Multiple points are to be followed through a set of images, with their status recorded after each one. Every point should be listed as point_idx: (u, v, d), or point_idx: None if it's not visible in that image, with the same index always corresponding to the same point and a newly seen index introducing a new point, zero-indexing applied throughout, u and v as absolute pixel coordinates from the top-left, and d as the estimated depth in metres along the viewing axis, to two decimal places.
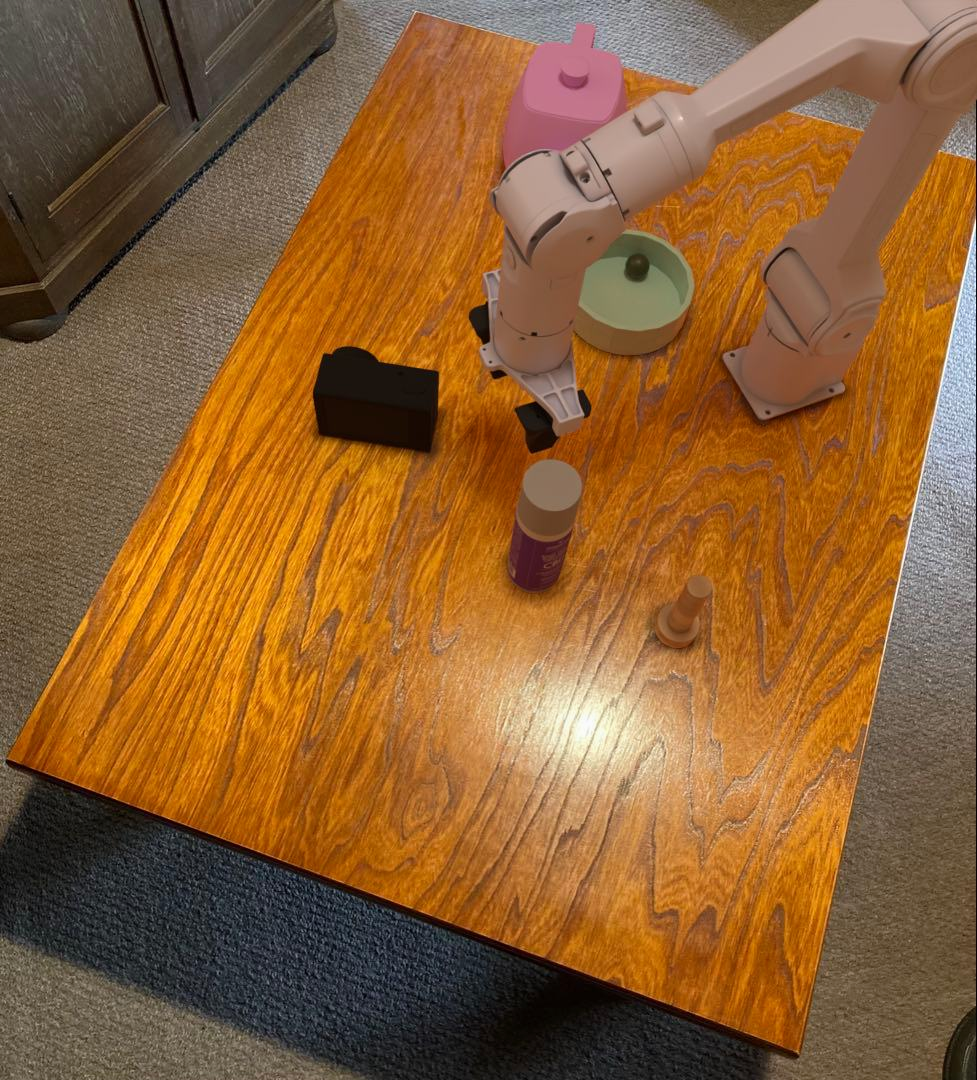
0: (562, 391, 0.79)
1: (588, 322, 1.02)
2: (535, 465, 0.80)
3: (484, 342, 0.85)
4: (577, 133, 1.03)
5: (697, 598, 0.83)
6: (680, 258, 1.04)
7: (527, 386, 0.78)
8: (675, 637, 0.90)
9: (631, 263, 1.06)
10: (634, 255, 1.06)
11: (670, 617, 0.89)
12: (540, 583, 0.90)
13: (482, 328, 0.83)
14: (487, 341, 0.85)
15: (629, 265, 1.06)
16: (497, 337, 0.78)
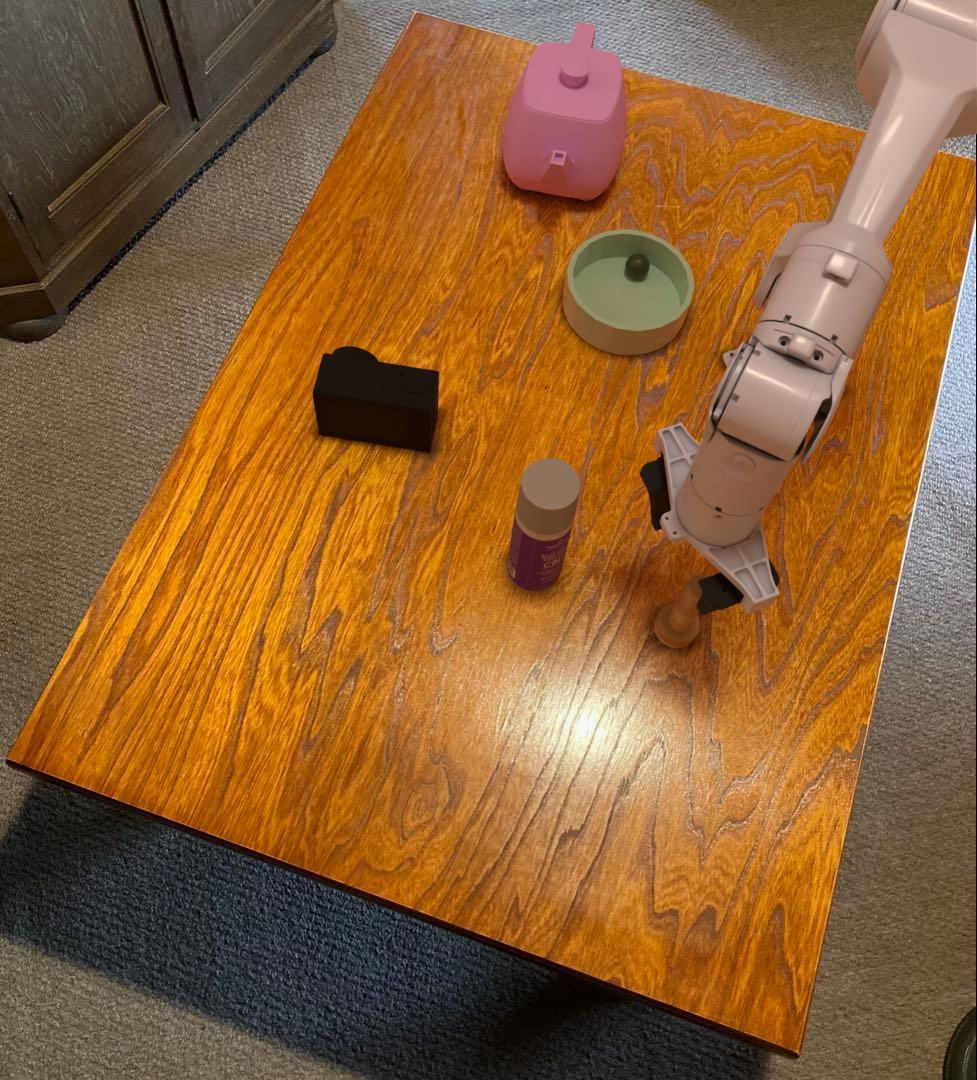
0: (753, 566, 0.73)
1: (588, 322, 1.02)
2: (533, 464, 0.81)
3: (656, 500, 0.79)
4: (577, 133, 1.03)
5: (697, 598, 0.83)
6: (680, 258, 1.04)
7: (716, 561, 0.73)
8: (675, 637, 0.90)
9: (631, 263, 1.06)
10: (634, 255, 1.06)
11: (670, 617, 0.89)
12: (540, 583, 0.90)
13: (657, 488, 0.78)
14: (658, 499, 0.79)
15: (629, 265, 1.06)
16: (685, 509, 0.73)
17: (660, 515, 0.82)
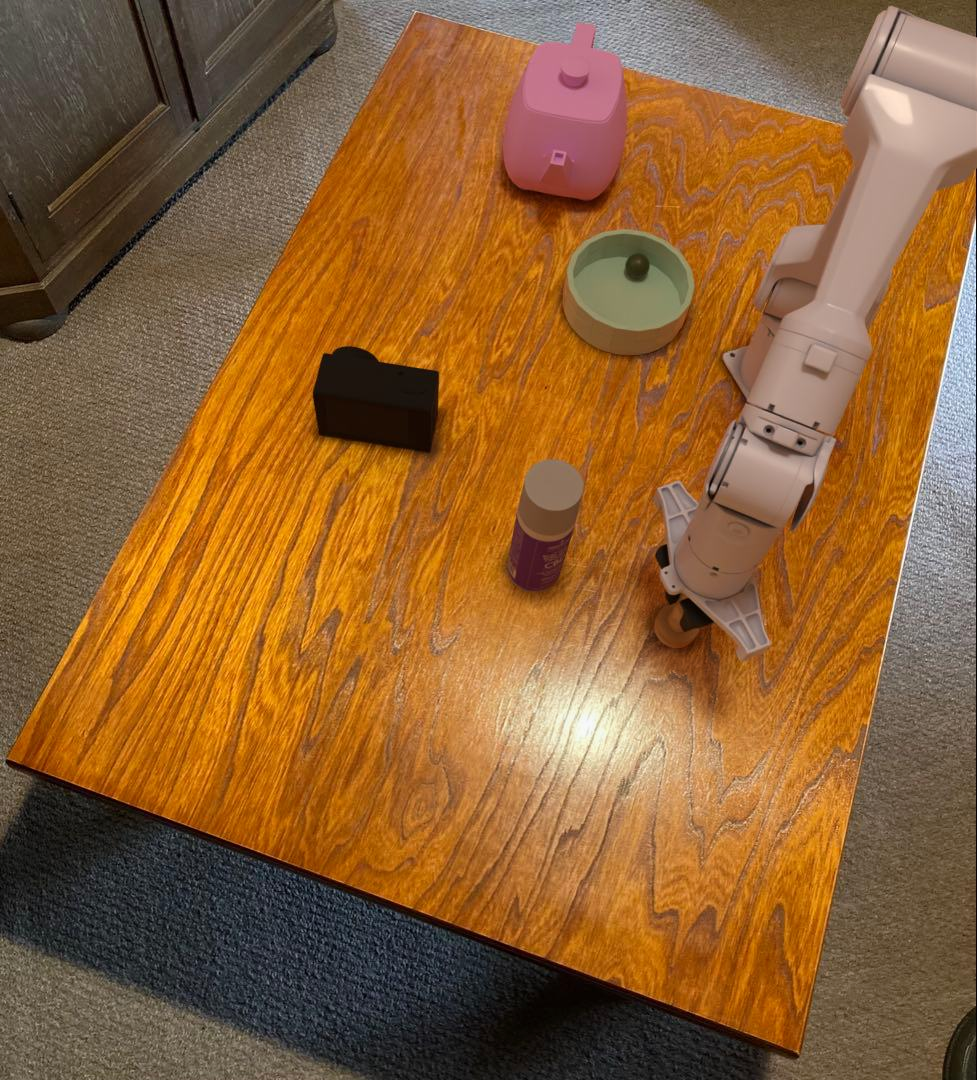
0: (747, 617, 0.78)
1: (588, 322, 1.02)
2: (536, 465, 0.80)
3: None
4: (577, 133, 1.03)
5: None
6: (680, 258, 1.04)
7: (712, 613, 0.78)
8: (675, 638, 0.90)
9: (631, 263, 1.06)
10: (634, 255, 1.06)
11: (670, 617, 0.89)
12: (540, 583, 0.90)
13: None
14: None
15: (629, 265, 1.06)
16: (682, 565, 0.78)
17: None
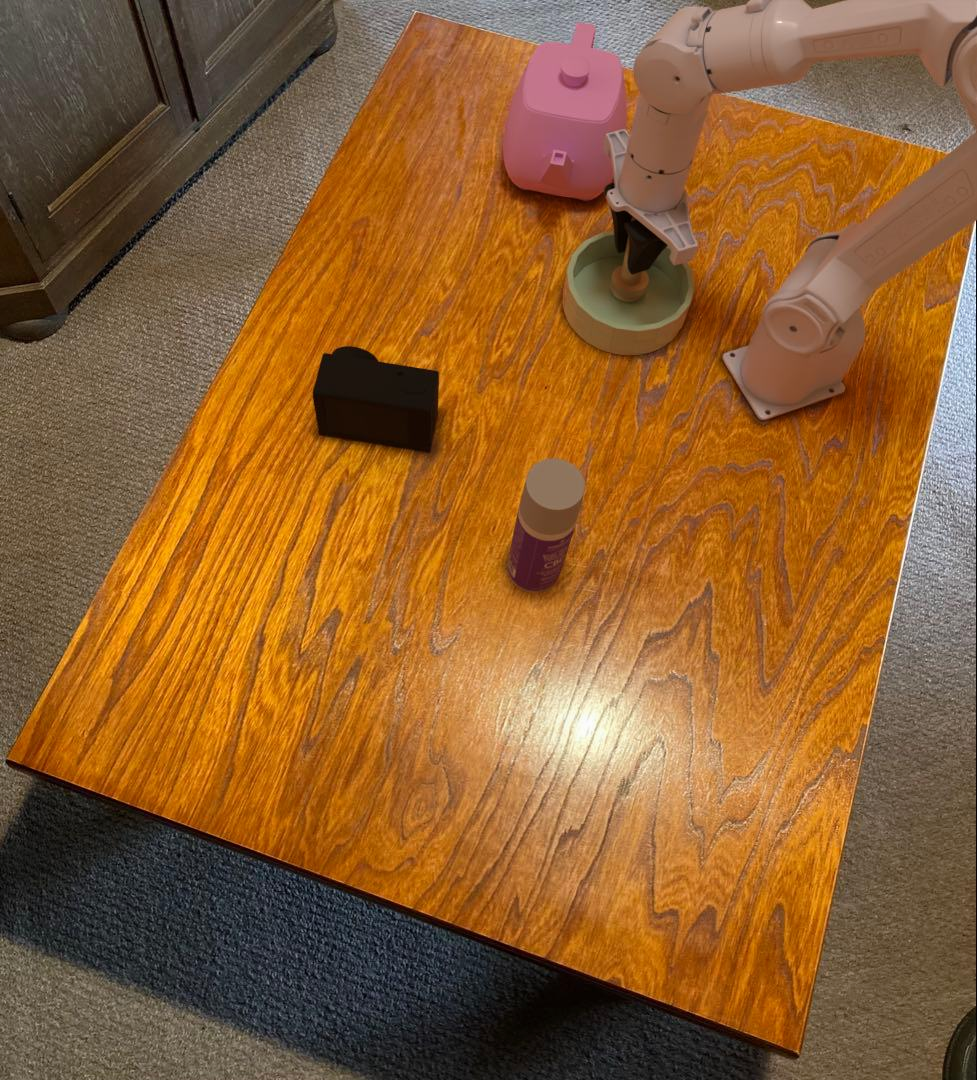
0: (679, 227, 0.93)
1: (588, 322, 1.02)
2: (538, 464, 0.80)
3: (617, 214, 0.98)
4: (577, 133, 1.03)
5: None
6: None
7: (649, 222, 0.93)
8: (624, 287, 1.04)
9: None
10: None
11: (622, 267, 1.04)
12: (540, 583, 0.90)
13: None
14: (619, 213, 0.98)
15: None
16: (624, 180, 0.93)
17: (621, 234, 1.01)
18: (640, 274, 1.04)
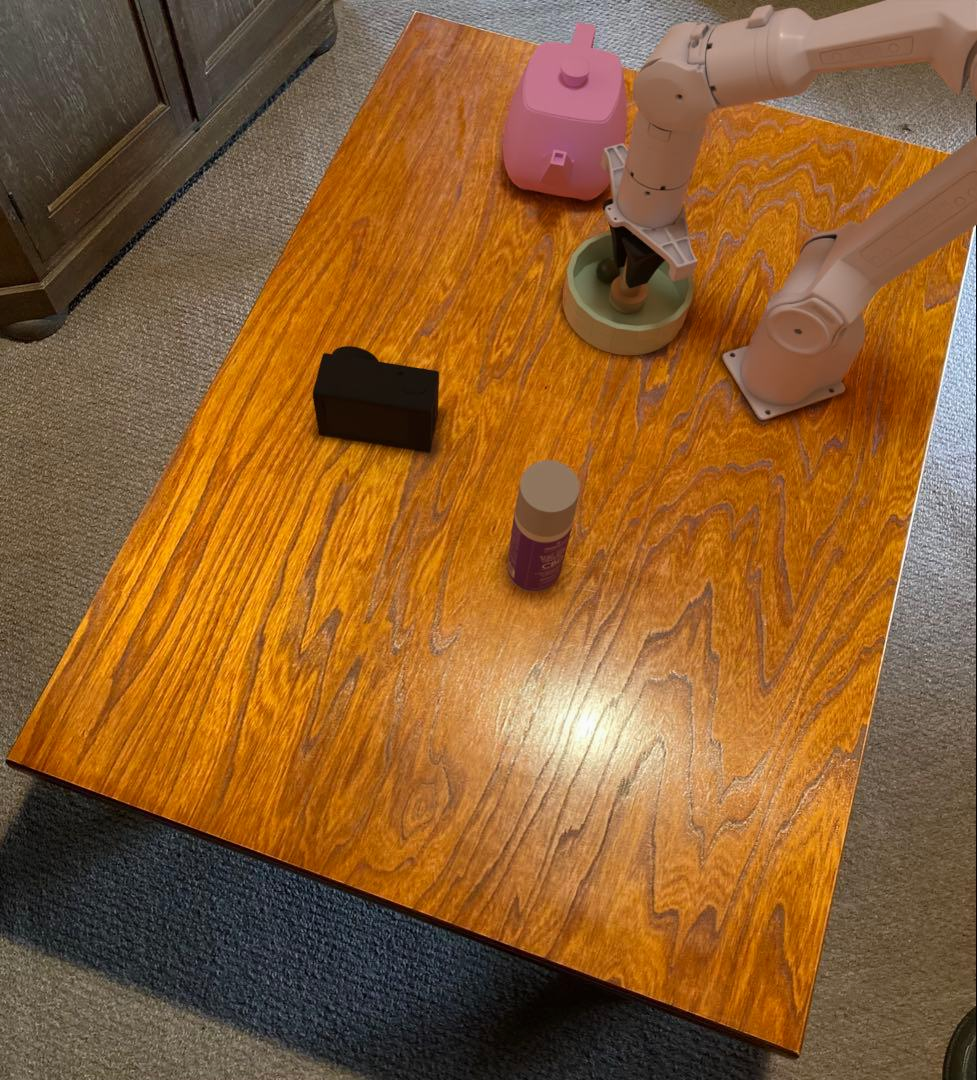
0: (678, 242, 0.92)
1: (588, 322, 1.02)
2: (533, 466, 0.80)
3: (615, 230, 0.97)
4: (577, 133, 1.03)
5: None
6: None
7: (648, 238, 0.92)
8: (620, 298, 1.04)
9: None
10: None
11: (621, 277, 1.03)
12: (539, 583, 0.90)
13: None
14: (618, 229, 0.97)
15: None
16: (622, 196, 0.92)
17: (620, 250, 1.00)
18: (638, 287, 1.03)
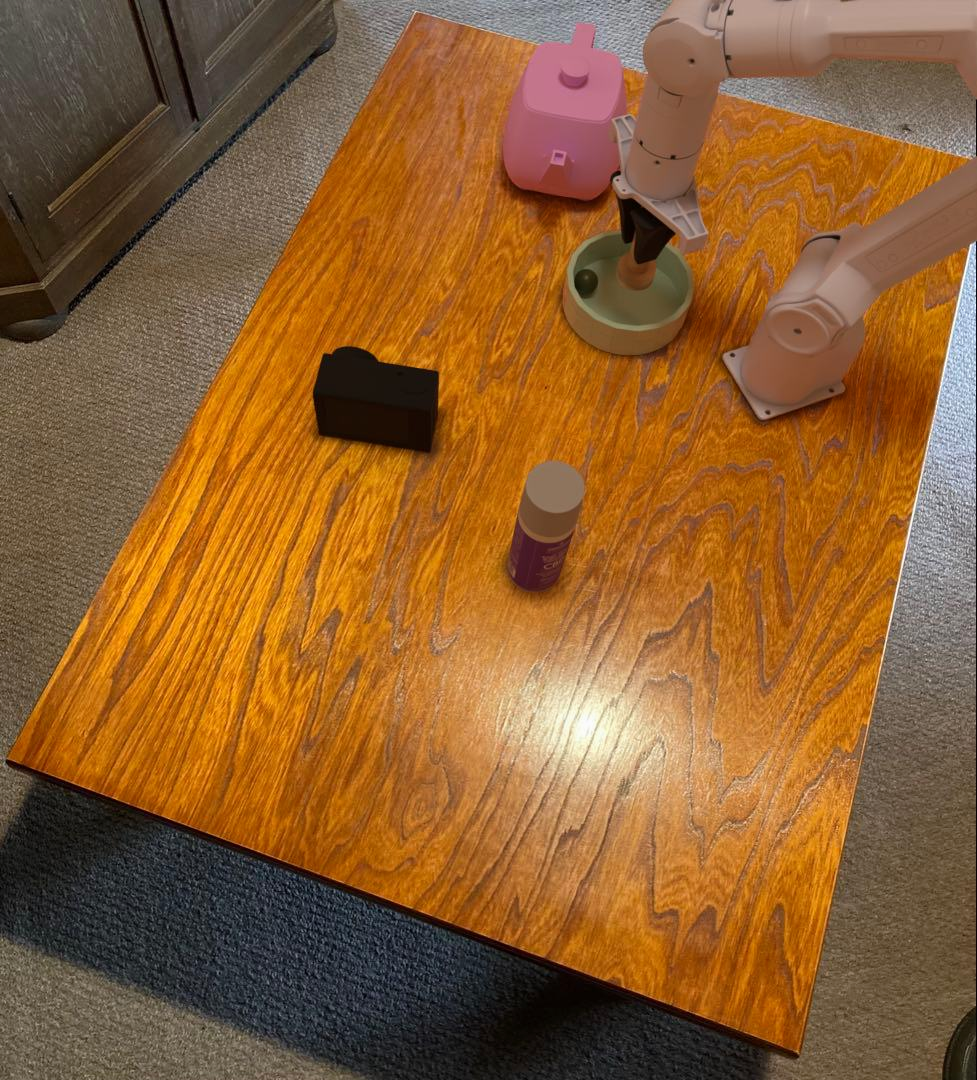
0: (688, 215, 0.89)
1: (588, 322, 1.02)
2: (538, 466, 0.80)
3: (623, 203, 0.94)
4: (577, 133, 1.03)
5: None
6: (680, 258, 1.04)
7: (657, 210, 0.89)
8: (628, 275, 1.01)
9: (589, 269, 1.05)
10: None
11: (629, 253, 1.00)
12: (539, 583, 0.90)
13: None
14: (626, 202, 0.94)
15: (588, 269, 1.05)
16: (631, 166, 0.89)
17: (628, 224, 0.97)
18: (646, 264, 1.00)
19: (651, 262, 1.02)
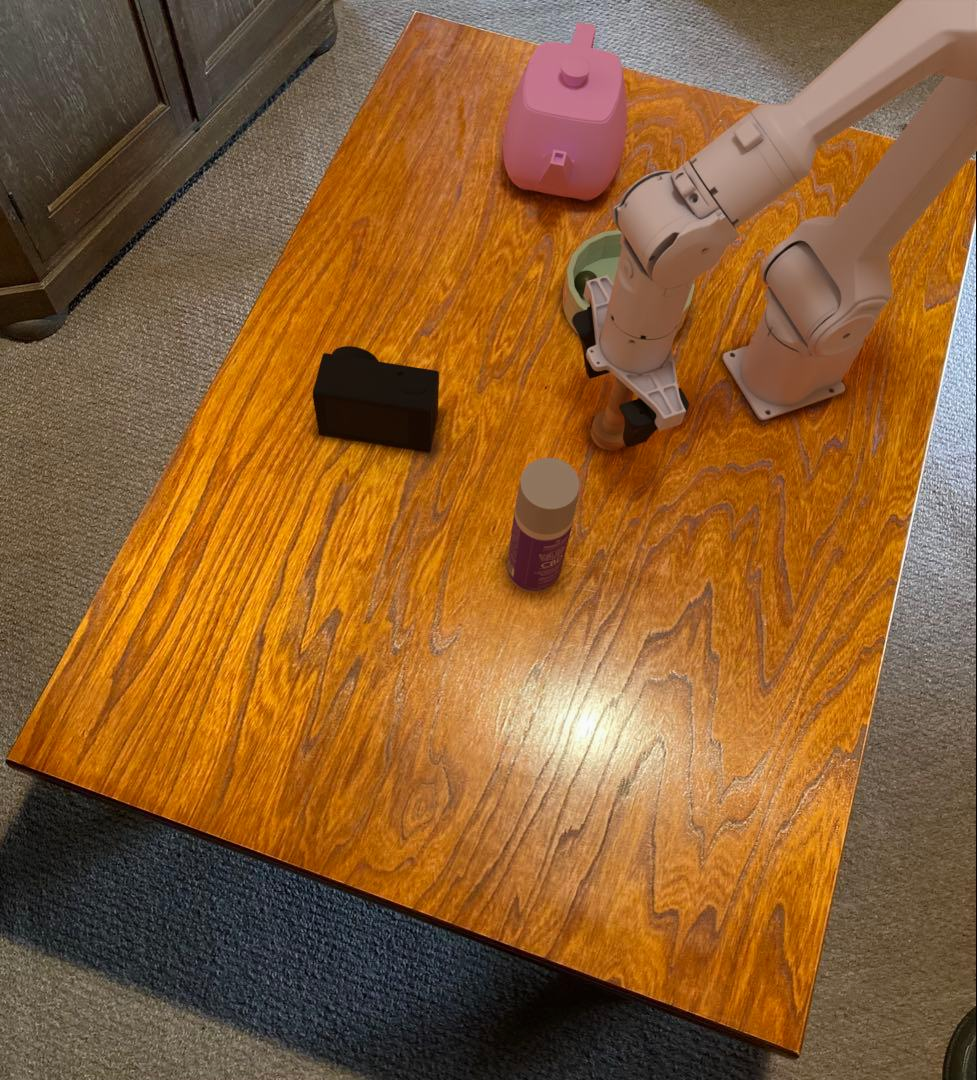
0: (665, 389, 0.86)
1: None
2: (534, 463, 0.81)
3: (586, 344, 0.92)
4: (577, 133, 1.03)
5: (619, 387, 0.92)
6: None
7: (632, 385, 0.86)
8: (602, 435, 0.98)
9: (590, 271, 1.05)
10: None
11: (604, 414, 0.97)
12: (538, 583, 0.90)
13: (586, 332, 0.90)
14: (588, 343, 0.92)
15: (589, 271, 1.05)
16: (605, 340, 0.85)
17: None
18: (621, 426, 0.97)
19: None
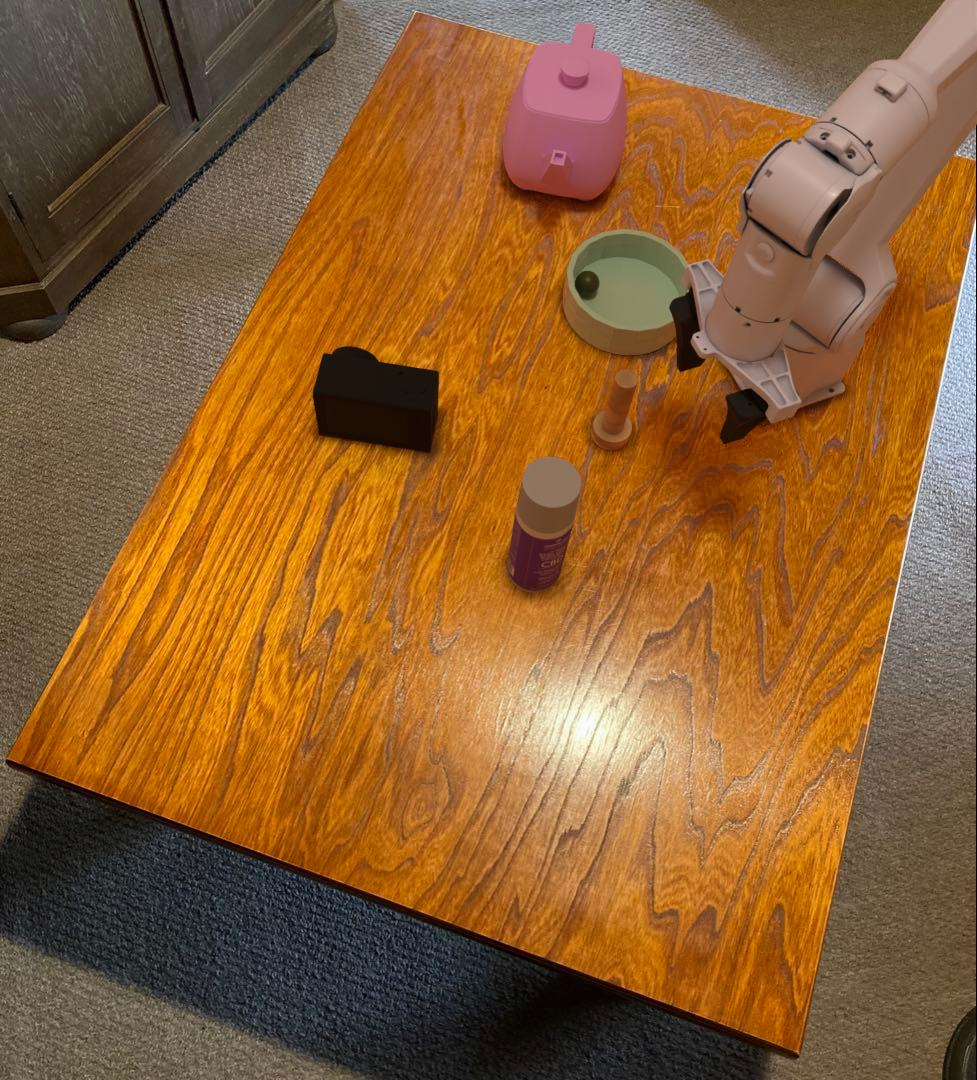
0: (777, 379, 0.80)
1: (588, 322, 1.02)
2: (536, 461, 0.81)
3: (684, 333, 0.86)
4: (577, 133, 1.03)
5: (619, 387, 0.92)
6: (680, 258, 1.04)
7: (743, 373, 0.79)
8: (602, 435, 0.98)
9: None
10: None
11: (604, 414, 0.97)
12: (538, 583, 0.90)
13: (685, 319, 0.84)
14: (686, 332, 0.86)
15: (590, 271, 1.05)
16: (715, 324, 0.79)
17: (686, 353, 0.88)
18: (621, 426, 0.97)
19: (627, 421, 0.99)
